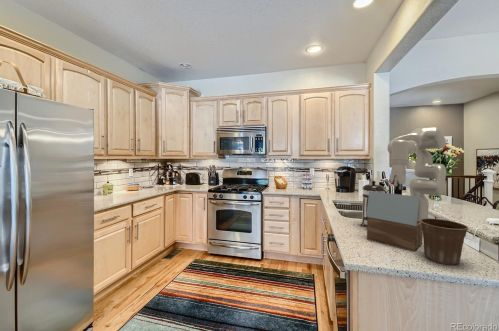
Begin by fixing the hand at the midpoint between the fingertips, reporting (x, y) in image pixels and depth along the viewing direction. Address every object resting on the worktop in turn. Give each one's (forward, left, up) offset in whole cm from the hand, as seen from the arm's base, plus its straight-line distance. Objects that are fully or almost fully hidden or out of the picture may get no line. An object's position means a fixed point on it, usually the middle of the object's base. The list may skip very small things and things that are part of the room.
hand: (398, 196), depth 125 cm
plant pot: (+13, +21, -24) cm, 34 cm away
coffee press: (-15, -18, -24) cm, 34 cm away
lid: (+10, 0, -5) cm, 11 cm away
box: (+5, 0, -24) cm, 24 cm away
